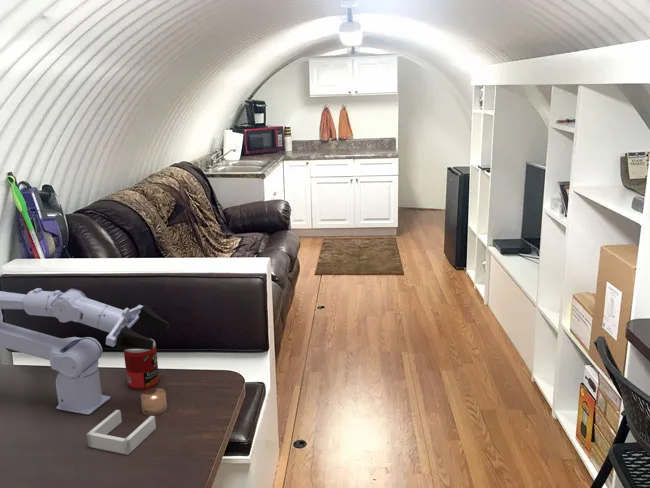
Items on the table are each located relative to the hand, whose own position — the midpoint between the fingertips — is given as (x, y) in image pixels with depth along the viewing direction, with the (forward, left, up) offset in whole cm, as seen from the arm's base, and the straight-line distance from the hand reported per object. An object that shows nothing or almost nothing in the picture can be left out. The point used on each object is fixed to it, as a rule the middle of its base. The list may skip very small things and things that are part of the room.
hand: (160, 336), depth 128 cm
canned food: (-14, +10, -19) cm, 26 cm away
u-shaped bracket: (-4, -12, -19) cm, 23 cm away
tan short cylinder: (-4, 0, -19) cm, 19 cm away
